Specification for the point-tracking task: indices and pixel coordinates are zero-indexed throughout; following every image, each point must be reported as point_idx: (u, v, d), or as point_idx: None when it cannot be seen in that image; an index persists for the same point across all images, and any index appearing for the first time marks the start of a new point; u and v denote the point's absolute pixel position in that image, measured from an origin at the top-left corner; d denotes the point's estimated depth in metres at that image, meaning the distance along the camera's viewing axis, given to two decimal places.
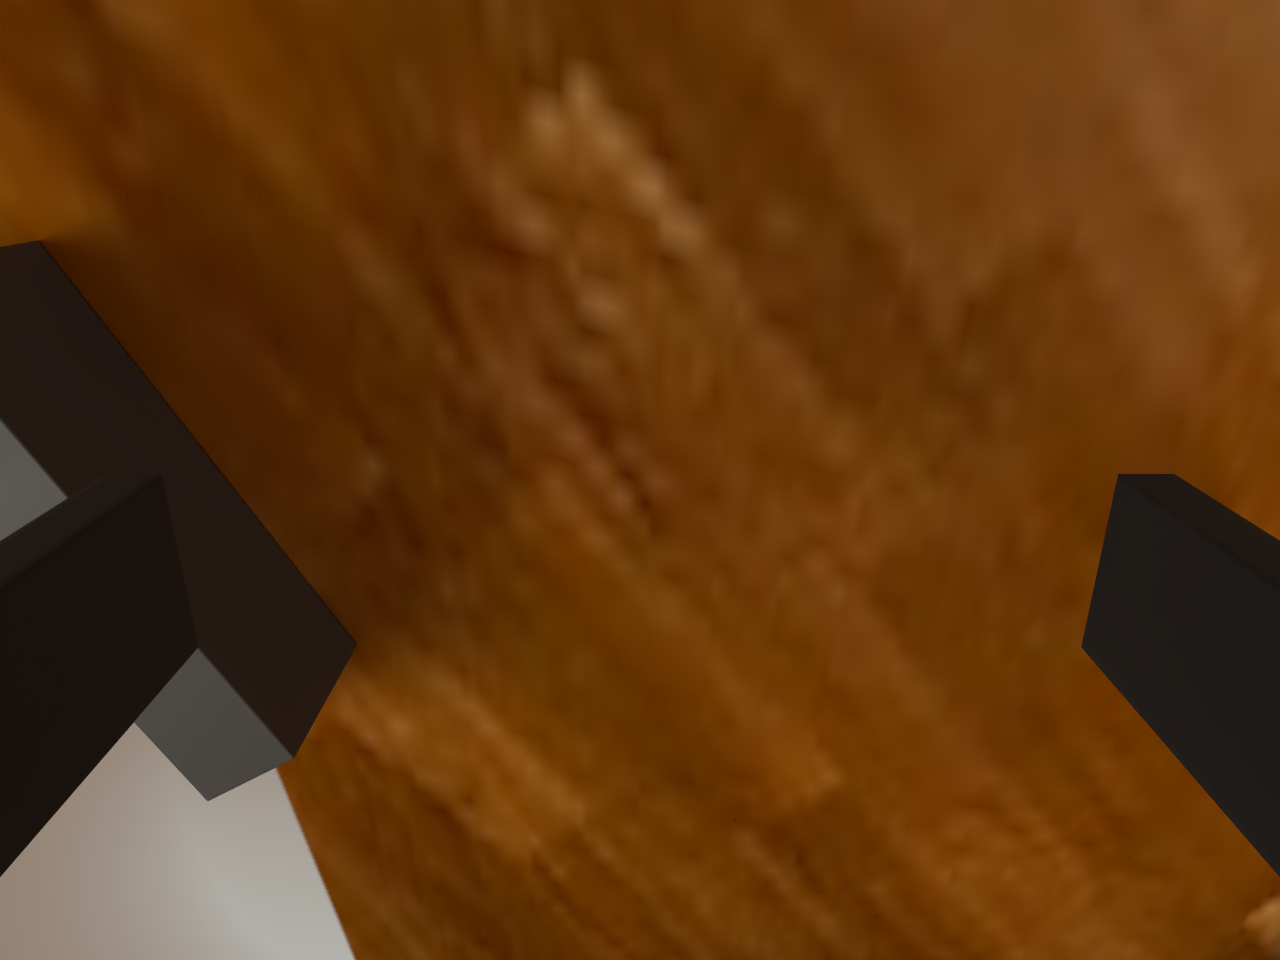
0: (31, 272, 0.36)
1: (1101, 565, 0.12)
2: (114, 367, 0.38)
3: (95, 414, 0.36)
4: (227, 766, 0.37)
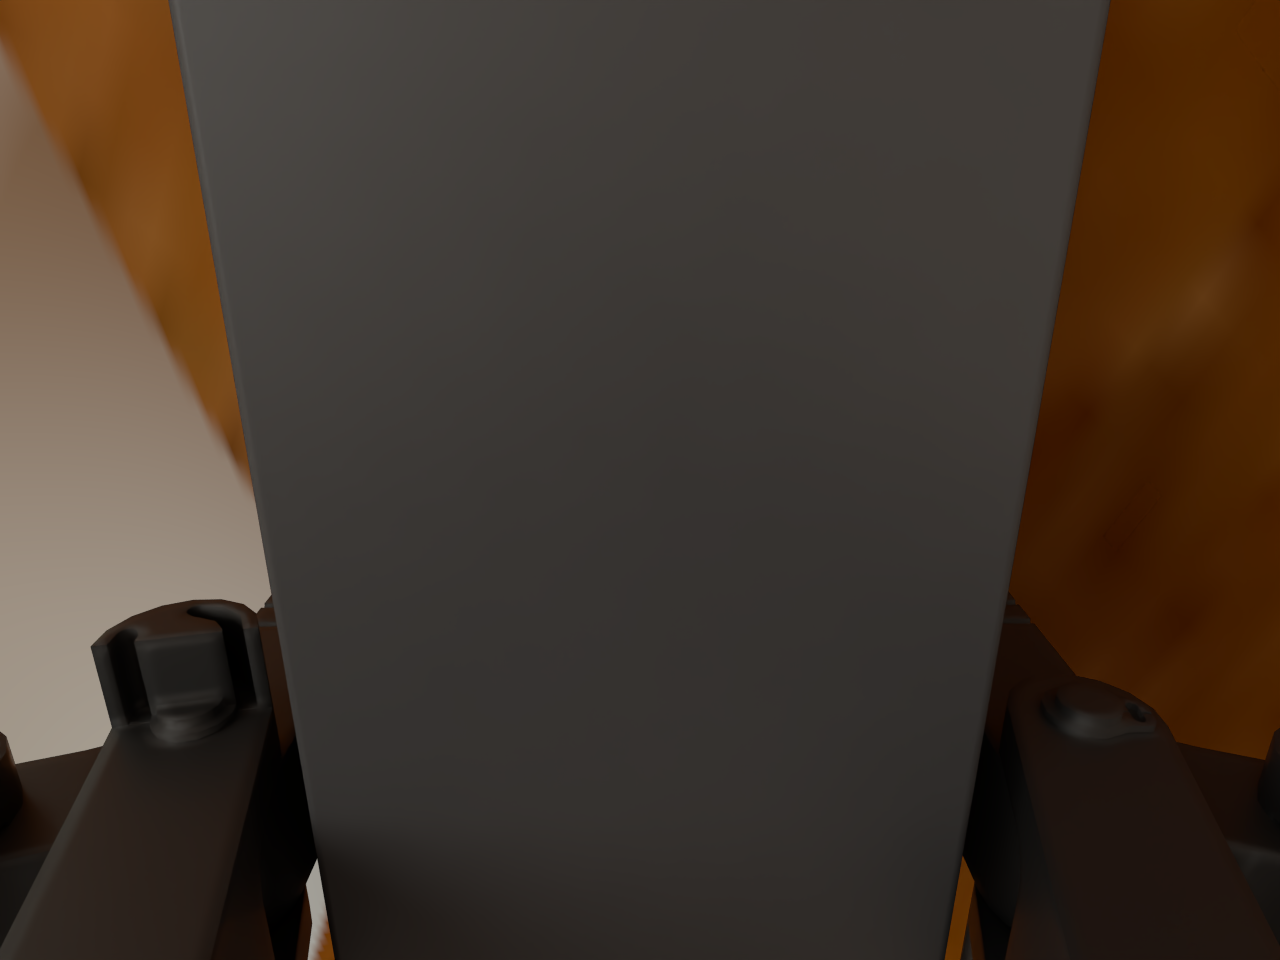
0: None
1: None
2: None
3: None
4: None
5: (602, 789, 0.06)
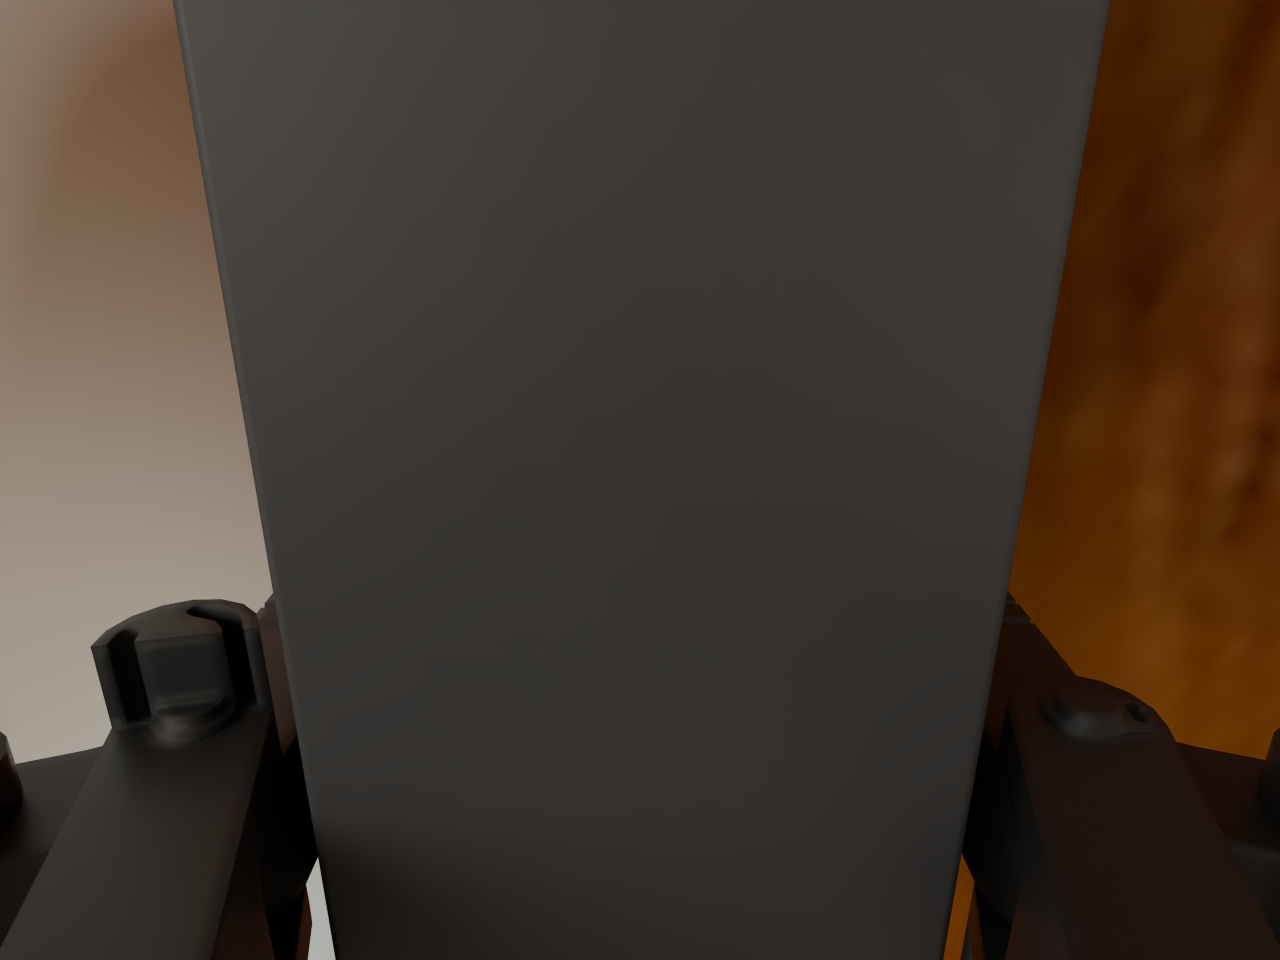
0: None
1: None
2: None
3: None
4: None
5: (602, 784, 0.06)
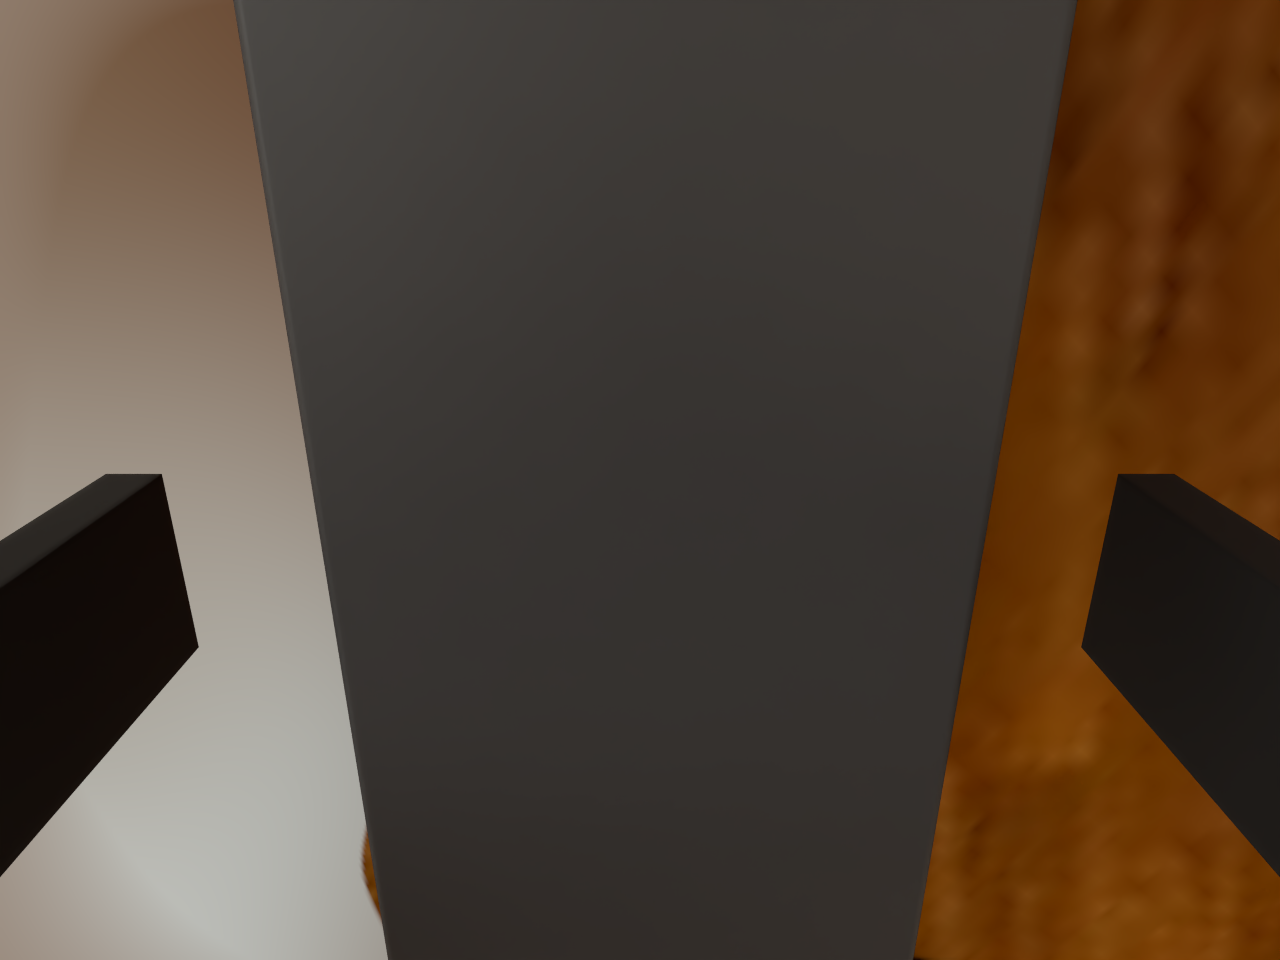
0: None
1: (1101, 565, 0.12)
2: None
3: None
4: (607, 898, 0.07)
5: (611, 344, 0.06)
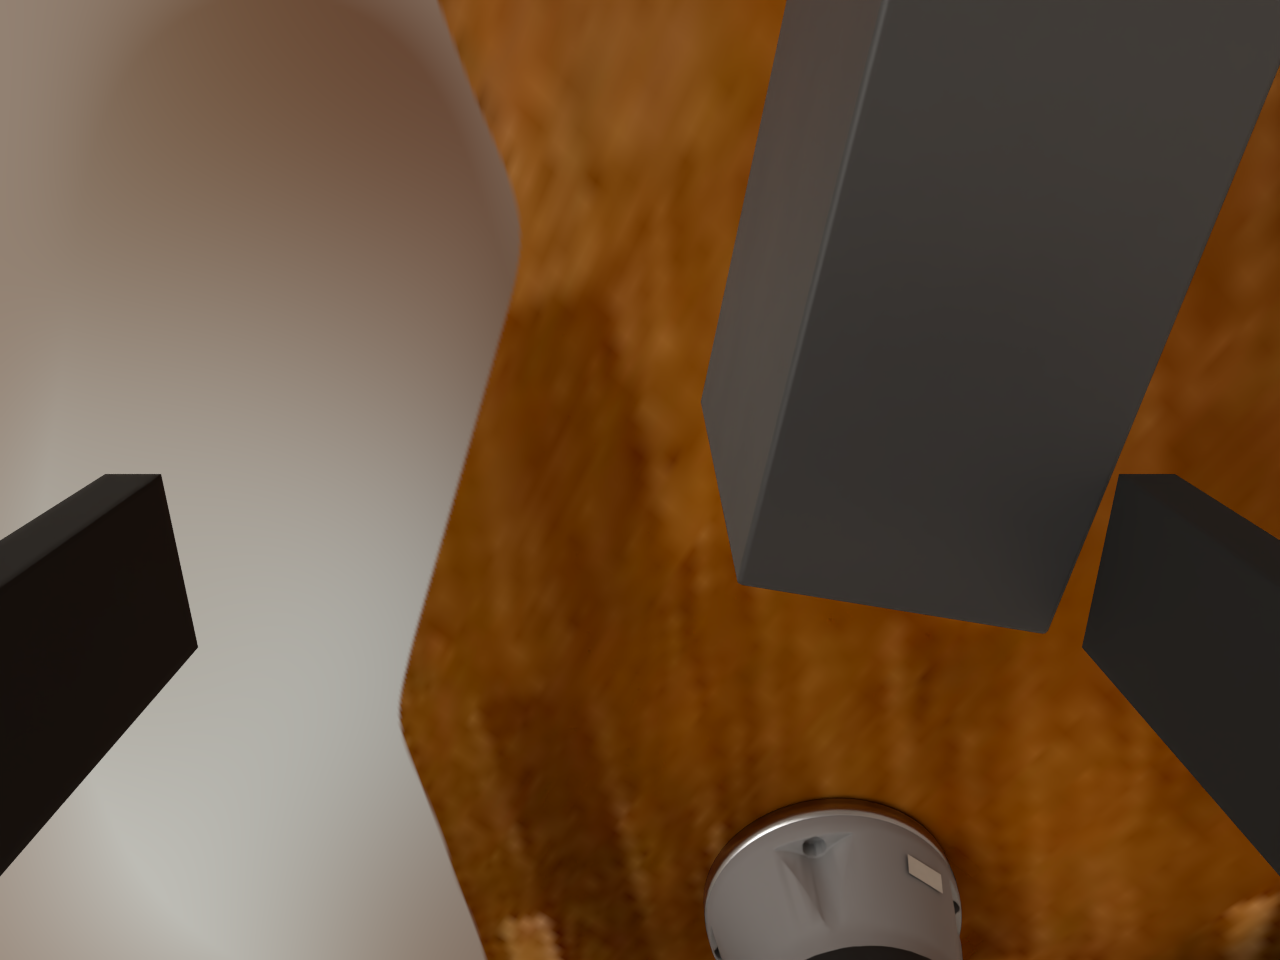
0: None
1: (1102, 565, 0.12)
2: None
3: None
4: (892, 542, 0.12)
5: (1011, 191, 0.10)
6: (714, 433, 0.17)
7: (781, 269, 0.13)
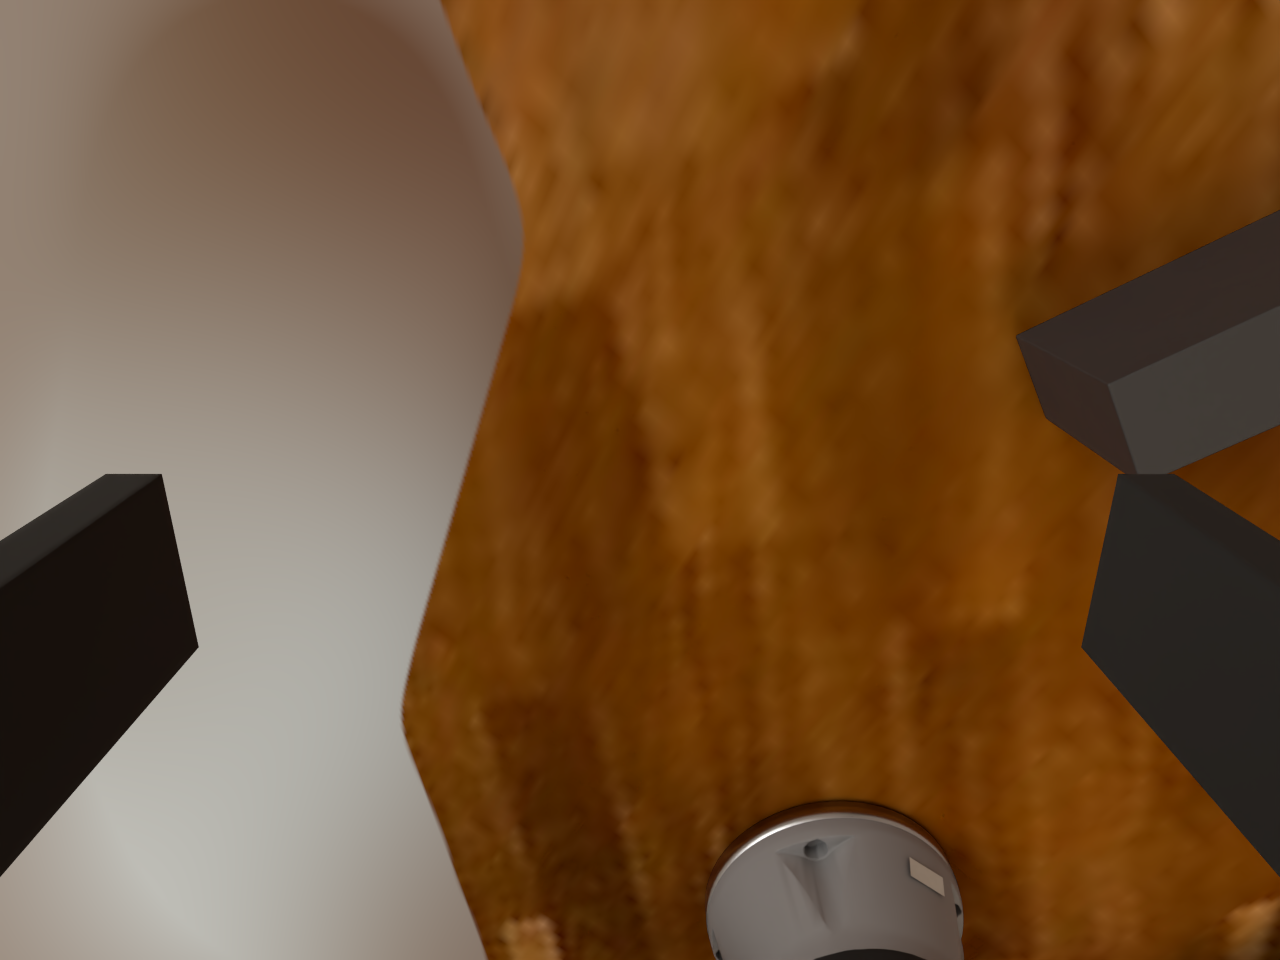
0: None
1: (1102, 566, 0.12)
2: None
3: None
4: (1149, 416, 0.34)
5: (1274, 362, 0.33)
6: (1055, 347, 0.38)
7: (1181, 322, 0.35)
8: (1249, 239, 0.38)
